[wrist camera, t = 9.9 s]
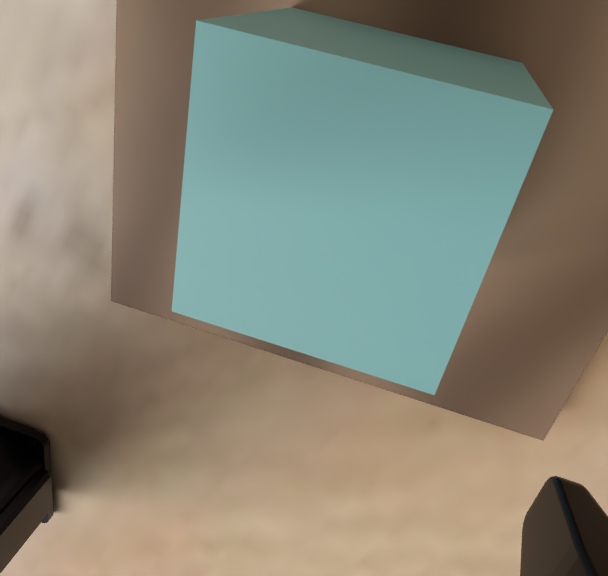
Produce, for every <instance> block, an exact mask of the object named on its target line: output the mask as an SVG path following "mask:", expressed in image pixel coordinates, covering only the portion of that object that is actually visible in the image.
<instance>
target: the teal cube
mask: <svg viewBox="0 0 608 576" xmlns="http://www.w3.org/2000/svg"><path fill="white" fill-rule="evenodd" d="M552 112H553V108H552V107H551V105H550V104H549V102H548V101H547V99H546V98H545V96H544V95H543V93H542V92H541V90H540V89H539V87H538V86H537V84H536V83H535V81H534V80H533V78H532V77H531V75H530V74H529V72H528V71H527V69H526V68H525V66H524V65H523V63H521V62H517V61H513V60H509V59H504V58H500V57H496V56H492V55H488V54H484V53H479V52H475V51H471V50H467V49H463V48H459V47H455V46H450V45H446V44H442V43H438V42H434V41H430V40H426V39H421V38H417V37H413V36H409V35H405V34H401V33H396V32H392V31H388V30H384V29H380V28H376V27H372V26H367V25H363V24H359V23H355V22H351V21H347V20H343V19H338V18H334V17H330V16H326V15H322V14H318V13H313V12H309V11H305V10H301V9H297V8H293V7H290V8H283V9H276V10H268V11H261V12H254V13H247V14H239V15H232V16H225V17H218V18H210V19H203V20H196V28H195V40H194V52H193V64H192V76H191V87H190V99H189V111H188V123H187V135H186V147H185V159H184V170H183V182H182V194H181V206H180V218H179V230H178V242H177V253H176V265H175V277H174V289H173V301H172V312H175V313H179V314H182V315H185V316H188V317H191V318H194V319H197V320H201V321H204V322H207V323H210V324H213V325H216V326H219V327H222V328H226V329H229V330H232V331H235V332H238V333H241V334H244V335H247V336H251V337H254V338H257V339H260V340H263V341H266V342H269V343H273V344H276V345H279V346H282V347H285V348H288V349H291V350H294V351H298V352H301V353H304V354H307V355H310V356H313V357H316V358H319V359H323V360H326V361H329V362H332V363H335V364H338V365H341V366H345V367H348V368H351V369H354V370H357V371H360V372H363V373H366V374H370V375H373V376H376V377H379V378H382V379H385V380H388V381H391V382H395V383H398V384H401V385H404V386H407V387H410V388H413V389H417V390H420V391H423V392H426V393H429V394H432V395H435V393H436V390H437V388H438V386H439V383H440V381H441V378H442V376H443V374H444V371H445V369H446V366H447V364H448V361H449V359H450V357H451V354H452V352H453V349H454V347H455V345H456V342H457V340H458V337H459V335H460V333H461V330H462V328H463V325H464V323H465V321H466V318H467V316H468V313H469V311H470V309H471V306H472V304H473V301H474V299H475V297H476V294H477V292H478V289H479V287H480V285H481V282H482V280H483V277H484V275H485V273H486V270H487V268H488V265H489V263H490V261H491V258H492V256H493V253H494V251H495V249H496V246H497V244H498V241H499V239H500V237H501V234H502V232H503V229H504V227H505V225H506V222H507V220H508V217H509V215H510V213H511V210H512V208H513V205H514V203H515V201H516V198H517V196H518V193H519V191H520V189H521V186H522V184H523V181H524V179H525V177H526V174H527V172H528V169H529V167H530V165H531V162H532V160H533V157H534V155H535V153H536V150H537V148H538V145H539V143H540V141H541V138H542V136H543V133H544V131H545V129H546V126H547V124H548V121H549V119H550V117H551V114H552Z"/></svg>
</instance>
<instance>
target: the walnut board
mask: <svg viewBox="0 0 608 576" xmlns="http://www.w3.org/2000/svg"><path fill="white" fill-rule="evenodd" d="M290 7H293V8H297V9H301V10H305V11H309V12H313V13H318V14H322V15H326V16H330V17H334V18H338V19H343V20H347V21H351V22H355V23H359V24H363V25H367V26H372V27H376V28H380V29H384V30H388V31H392V32H396V33H401V34H405V35H409V36H413V37H417V38H421V39H426V40H430V41H434V42H438V43H442V44H446V45H450V46H455V47H459V48H463V49H467V50H471V51H475V52H479V53H484V54H488V55H492V56H496V57H500V58H504V59H509V60H513V61H517V62H521V63H523V65H524V66H525V68H526V69H527V71H528V72H529V74H530V75H531V77H532V78H533V80H534V81H535V83H536V84H537V86H538V87H539V89H540V90H541V92H542V93H543V95H544V96H545V98H546V99H547V101H548V102H549V104H550V105H551V107H552V108H553V112H552V114H551V117H550V119H549V121H548V124H547V126H546V129H545V131H544V133H543V136H542V138H541V141H540V143H539V145H538V148H537V150H536V153H535V155H534V157H533V160H532V162H531V165H530V167H529V169H528V172H527V174H526V177H525V179H524V181H523V184H522V186H521V189H520V191H519V193H518V196H517V198H516V201H515V203H514V205H513V208H512V210H511V213H510V215H509V217H508V220H507V222H506V225H505V227H504V229H503V232H502V234H501V237H500V239H499V241H498V244H497V246H496V249H495V251H494V253H493V256H492V258H491V261H490V263H489V265H488V268H487V270H486V273H485V275H484V277H483V280H482V282H481V285H480V287H479V289H478V292H477V294H476V297H475V299H474V301H473V304H472V306H471V309H470V311H469V313H468V316H467V318H466V321H465V323H464V325H463V328H462V330H461V333H460V335H459V337H458V340H457V342H456V345H455V347H454V349H453V352H452V354H451V357H450V359H449V361H448V364H447V366H446V369H445V371H444V374H443V376H442V378H441V381H440V383H439V386H438V388H437V390H436V393H435V395H432V394H429V393H426V392H423V391H420V390H417V389H413V388H410V387H407V386H404V385H401V384H398V383H395V382H391V381H388V380H385V379H382V378H379V377H376V376H373V375H370V374H366V373H363V372H360V371H357V370H354V369H351V368H348V367H345V366H341V365H338V364H335V363H332V362H329V361H326V360H323V359H319V358H316V357H313V356H310V355H307V354H304V353H301V352H298V351H294V350H291V349H288V348H285V347H282V346H279V345H276V344H273V343H269V342H266V341H263V340H260V339H257V338H254V337H251V336H247V335H244V334H241V333H238V332H235V331H232V330H229V329H226V328H222V327H219V326H216V325H213V324H210V323H207V322H204V321H201V320H197V319H194V318H191V317H188V316H185V315H182V314H179V313H175V312H172V301H173V289H174V277H175V265H176V253H177V242H178V230H179V218H180V206H181V194H182V182H183V170H184V159H185V147H186V135H187V123H188V111H189V99H190V87H191V76H192V64H193V52H194V40H195V28H196V20H203V19H210V18H218V17H225V16H232V15H239V14H247V13H254V12H261V11H268V10H276V9H283V8H290ZM111 301H113V302H116V303H119V304H122V305H125V306H128V307H131V308H135V309H138V310H141V311H144V312H147V313H150V314H153V315H156V316H159V317H162V318H165V319H169V320H172V321H175V322H178V323H181V324H184V325H187V326H190V327H193V328H196V329H199V330H203V331H206V332H209V333H212V334H215V335H218V336H221V337H224V338H227V339H230V340H233V341H237V342H240V343H243V344H246V345H249V346H252V347H255V348H258V349H261V350H264V351H267V352H271V353H274V354H277V355H280V356H283V357H286V358H289V359H292V360H295V361H298V362H302V363H305V364H308V365H311V366H314V367H317V368H320V369H323V370H326V371H329V372H332V373H336V374H339V375H342V376H345V377H348V378H351V379H354V380H357V381H360V382H363V383H366V384H370V385H373V386H376V387H379V388H382V389H385V390H388V391H391V392H394V393H397V394H400V395H404V396H407V397H410V398H413V399H416V400H419V401H422V402H425V403H428V404H431V405H435V406H438V407H441V408H444V409H447V410H450V411H453V412H456V413H459V414H462V415H465V416H469V417H472V418H475V419H478V420H481V421H484V422H487V423H490V424H493V425H496V426H499V427H503V428H506V429H509V430H512V431H515V432H518V433H521V434H524V435H527V436H530V437H533V438H537V439H540V440H544V439H545V437H546V435H547V434H548V432H549V430H550V428H551V427H552V425H553V423H554V422H555V420H556V418H557V417H558V415H559V413H560V411H561V410H562V408H563V406H564V405H565V403H566V401H567V399H568V398H569V396H570V394H571V393H572V391H573V389H574V388H575V386H576V384H577V382H578V381H579V379H580V377H581V376H582V374H583V372H584V370H585V369H586V367H587V365H588V364H589V362H590V360H591V359H592V357H593V355H594V353H595V352H596V350H597V348H598V347H599V345H600V343H601V341H602V340H603V338H604V336H605V335H606V333H607V331H608V0H117V15H116V68H115V122H114V175H113V228H112V282H111Z"/></svg>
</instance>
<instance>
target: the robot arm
mask: <svg viewBox="0 0 608 576" xmlns="http://www.w3.org/2000/svg"><path fill="white" fill-rule="evenodd" d="M52 516H53V497H52V480H51V465H50V448H49V440H48V438H47V437H46V436H45V435H44V434H43V433H41V432H39V431H36V430H34V429H31V428H28V427H25V426H22V425H20V424H17V423H14V422H11V421H9V420H6V419H3V418H0V573H1V572H2V571H3V569H4V568H5V567H6V566H7V564H8V563H9V562H10V561H11V559H12V558H13V557H14V556H15V554H16V553H17V552H18V551H19V549H20V548H21V547H22V546H23V544H24V543H25V542H26V541H27V539H28V538H29V537H30V535H31V534H32V533H33V532H34V530H35V529H36V528H37V527H38V525H39V524H40V523H41V522H42V523H47V522H48V521H49V520H50V519H51V517H52ZM520 576H608V516H607V515H606V513H605V512H604V511H603V509H602V508H601V507H600V506H599V504H598V503H597V502H596V500H595V499H594V498H593V496H592V495H591V494H590V493H589V491H588V490H587V489H586V488H585V487H584V486H583V485H581V484H579V483H576V482H573V481H570V480H567V479H564V478H561V477H557V476H553V477H550V478H549V479H548V480H547V481H546V482H545V484H544V486H543V487H542V489H541V490H540V492H539V494H538V495H537V497H536V499H535V500H534V502H533V504H532V505H531V507H530V508H529V510H528V512H527V514H526V516H525V519H524V523H523V529H522V548H521V569H520Z"/></svg>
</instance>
